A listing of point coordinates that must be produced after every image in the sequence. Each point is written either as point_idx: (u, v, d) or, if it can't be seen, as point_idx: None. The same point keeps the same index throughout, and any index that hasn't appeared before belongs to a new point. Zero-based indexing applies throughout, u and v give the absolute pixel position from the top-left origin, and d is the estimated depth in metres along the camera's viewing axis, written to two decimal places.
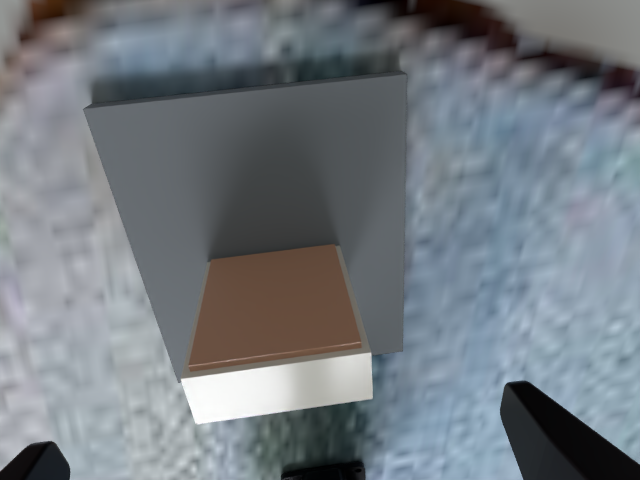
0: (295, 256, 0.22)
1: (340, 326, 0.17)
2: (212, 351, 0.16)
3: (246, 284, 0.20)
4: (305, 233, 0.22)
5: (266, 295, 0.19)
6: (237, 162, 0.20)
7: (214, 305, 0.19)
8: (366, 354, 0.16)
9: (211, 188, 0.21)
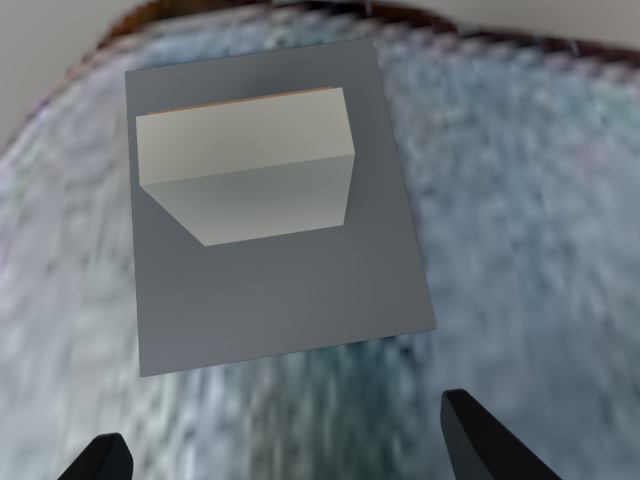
0: None
1: None
2: None
3: None
4: None
5: None
6: None
7: None
8: (337, 89, 0.15)
9: None
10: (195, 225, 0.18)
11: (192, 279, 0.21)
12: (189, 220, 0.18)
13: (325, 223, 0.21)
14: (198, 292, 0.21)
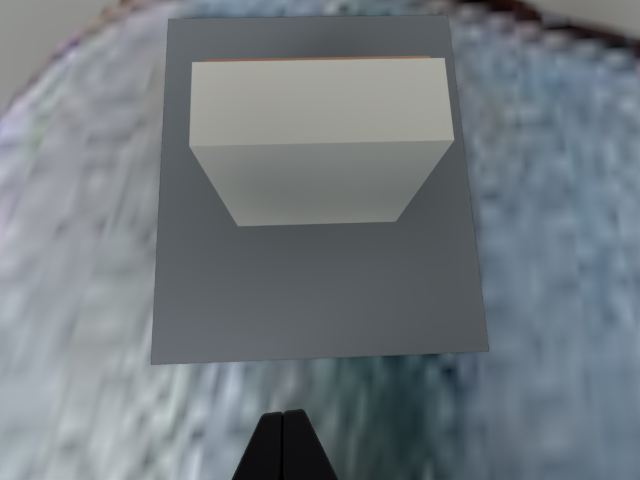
0: None
1: None
2: None
3: None
4: None
5: None
6: None
7: None
8: (438, 59, 0.12)
9: None
10: (236, 202, 0.16)
11: (220, 261, 0.19)
12: (231, 195, 0.15)
13: (377, 217, 0.19)
14: (225, 277, 0.19)
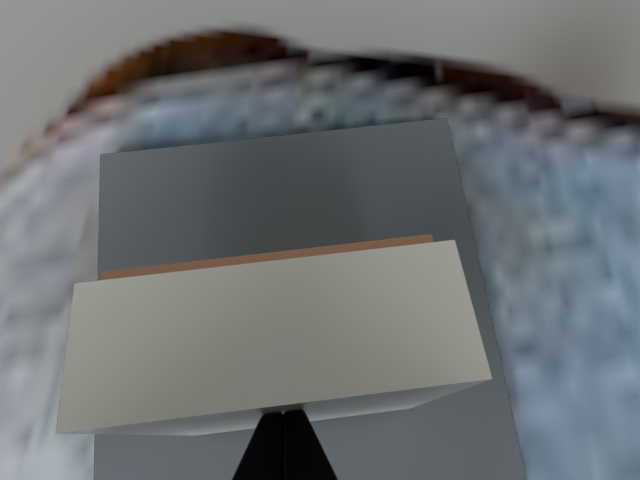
0: None
1: None
2: None
3: None
4: None
5: None
6: (257, 211, 0.17)
7: None
8: (446, 243, 0.08)
9: (220, 243, 0.16)
10: (179, 432, 0.11)
11: None
12: (167, 432, 0.10)
13: (383, 411, 0.14)
14: None
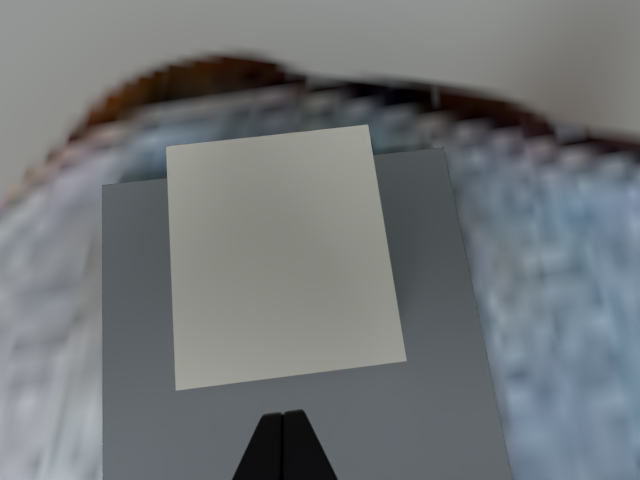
0: None
1: None
2: None
3: None
4: None
5: None
6: None
7: None
8: None
9: None
10: (186, 279, 0.14)
11: None
12: (184, 256, 0.14)
13: (373, 342, 0.13)
14: None
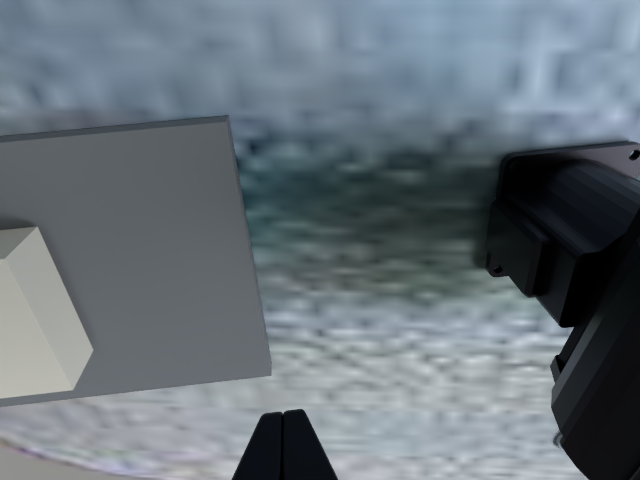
0: None
1: None
2: None
3: None
4: None
5: None
6: None
7: None
8: None
9: None
10: None
11: (183, 347, 0.22)
12: None
13: None
14: (196, 342, 0.22)
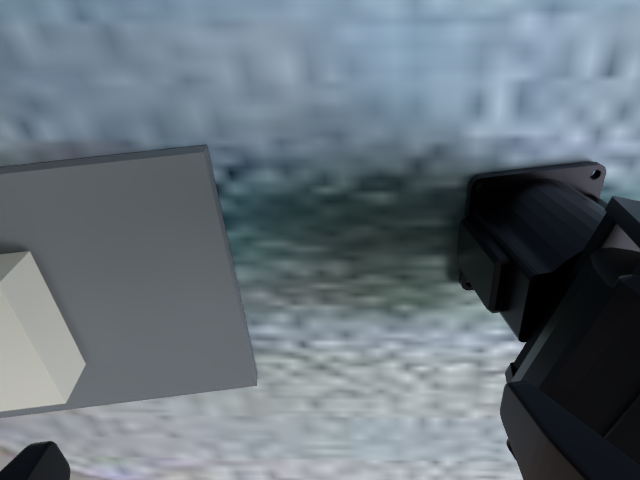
0: None
1: None
2: None
3: None
4: None
5: None
6: None
7: None
8: None
9: None
10: None
11: (171, 360, 0.23)
12: None
13: None
14: (183, 355, 0.23)
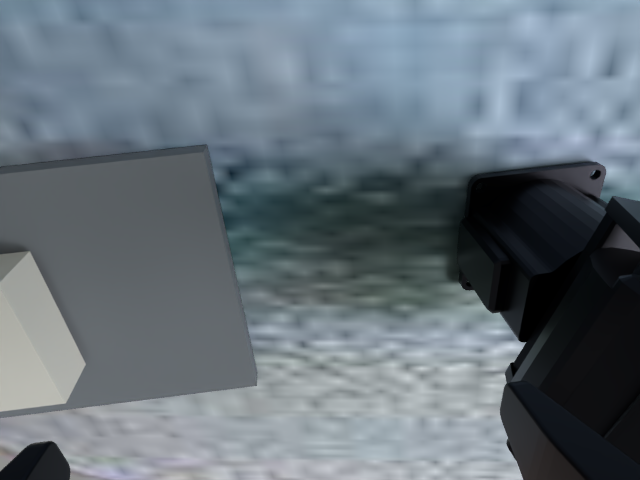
0: None
1: None
2: None
3: None
4: None
5: None
6: None
7: None
8: None
9: None
10: None
11: (171, 360, 0.23)
12: None
13: None
14: (183, 355, 0.23)
